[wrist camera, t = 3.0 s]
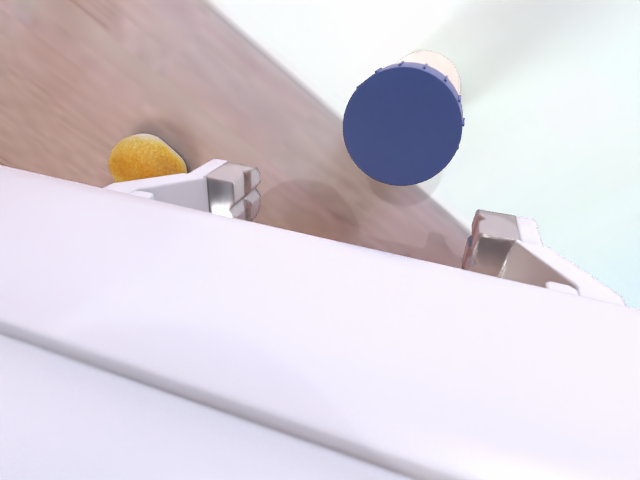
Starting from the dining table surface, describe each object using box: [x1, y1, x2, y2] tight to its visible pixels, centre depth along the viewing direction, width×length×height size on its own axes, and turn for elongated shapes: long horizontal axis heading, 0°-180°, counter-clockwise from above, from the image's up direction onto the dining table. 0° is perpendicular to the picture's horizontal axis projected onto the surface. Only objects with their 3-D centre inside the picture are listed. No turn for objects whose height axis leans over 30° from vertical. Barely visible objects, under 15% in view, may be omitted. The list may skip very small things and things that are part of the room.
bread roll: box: [108, 133, 187, 183], centre depth 39 cm, size 8×9×4 cm
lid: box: [343, 61, 465, 186], centre depth 21 cm, size 6×6×2 cm
